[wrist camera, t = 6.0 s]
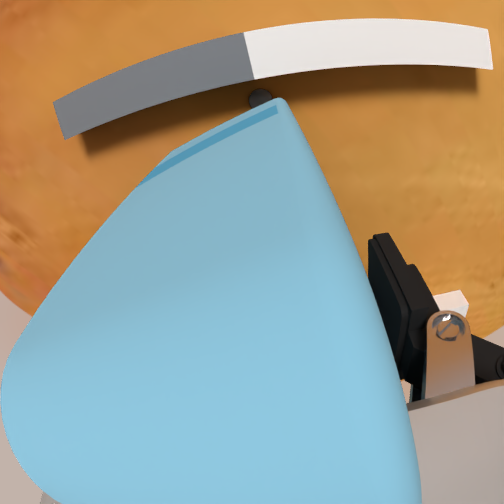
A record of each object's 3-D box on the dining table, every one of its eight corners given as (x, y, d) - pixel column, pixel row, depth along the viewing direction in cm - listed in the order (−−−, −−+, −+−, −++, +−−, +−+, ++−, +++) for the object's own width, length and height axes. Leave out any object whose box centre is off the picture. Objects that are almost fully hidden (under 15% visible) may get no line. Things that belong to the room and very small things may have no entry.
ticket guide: (470, 29, 9) (487, 29, 8) (454, 311, 19) (462, 325, 18) (69, 97, 12) (52, 102, 11) (178, 351, 22) (174, 367, 21)
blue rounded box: (177, 143, 12) (-42, 441, 2) (280, 91, 11) (430, 478, 1) (295, 337, 18) (303, 554, 8) (371, 311, 16) (423, 532, 6)
